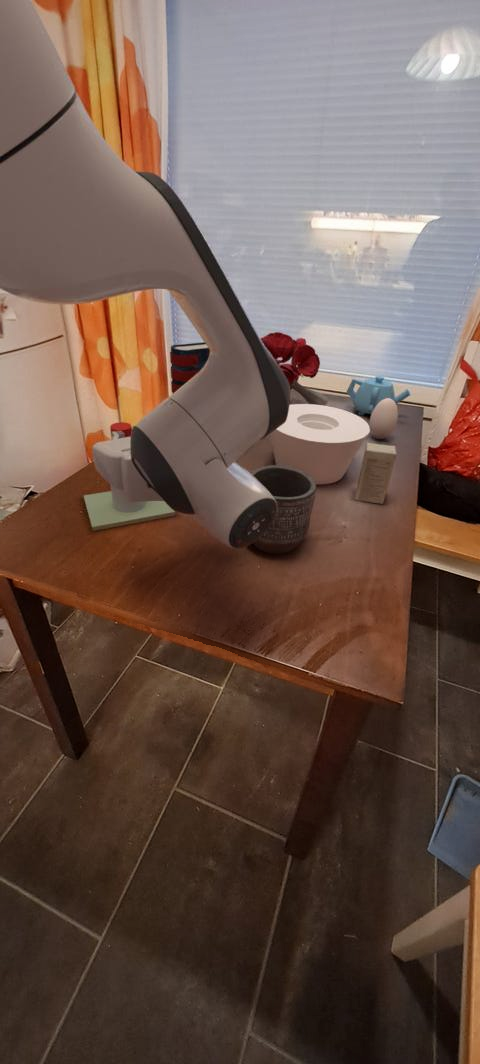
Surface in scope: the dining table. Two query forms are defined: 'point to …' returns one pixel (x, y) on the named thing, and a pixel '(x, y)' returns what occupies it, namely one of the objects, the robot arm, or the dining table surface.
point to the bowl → (319, 441)
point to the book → (187, 362)
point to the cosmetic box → (375, 472)
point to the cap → (122, 428)
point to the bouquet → (295, 363)
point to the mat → (109, 517)
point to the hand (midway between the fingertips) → (145, 430)
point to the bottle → (124, 501)
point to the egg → (383, 418)
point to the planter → (286, 507)
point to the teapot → (373, 393)
